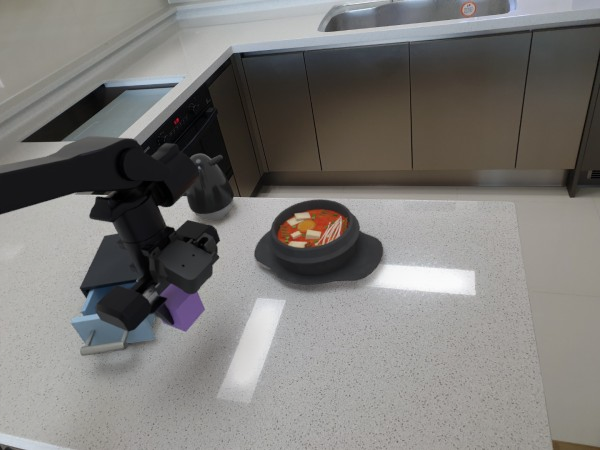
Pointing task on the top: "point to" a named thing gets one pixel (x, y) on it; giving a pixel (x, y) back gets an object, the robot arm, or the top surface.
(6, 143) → the top surface
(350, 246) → the casserole
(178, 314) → the block
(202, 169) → the pump dispenser
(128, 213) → the robot arm
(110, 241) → the black drawer cabinet
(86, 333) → the blue drawer
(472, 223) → the top surface
